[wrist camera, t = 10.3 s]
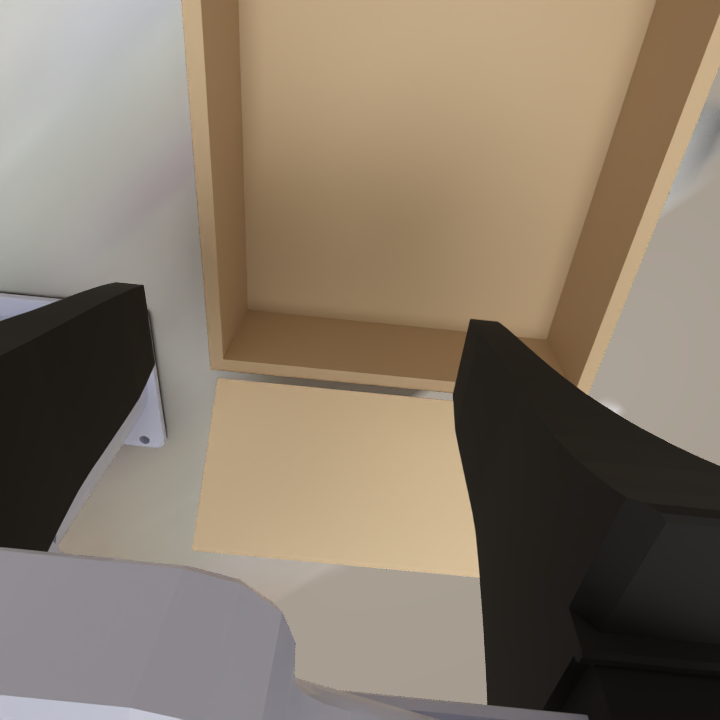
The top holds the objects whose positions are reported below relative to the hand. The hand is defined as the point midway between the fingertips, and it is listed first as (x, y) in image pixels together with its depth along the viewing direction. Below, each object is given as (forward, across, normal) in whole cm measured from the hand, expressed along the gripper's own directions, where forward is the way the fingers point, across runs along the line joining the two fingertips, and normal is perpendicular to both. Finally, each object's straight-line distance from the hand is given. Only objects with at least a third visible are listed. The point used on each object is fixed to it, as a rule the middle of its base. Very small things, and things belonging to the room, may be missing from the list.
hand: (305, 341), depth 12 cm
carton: (+10, -3, -3) cm, 11 cm away
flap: (+3, -3, +7) cm, 9 cm away
